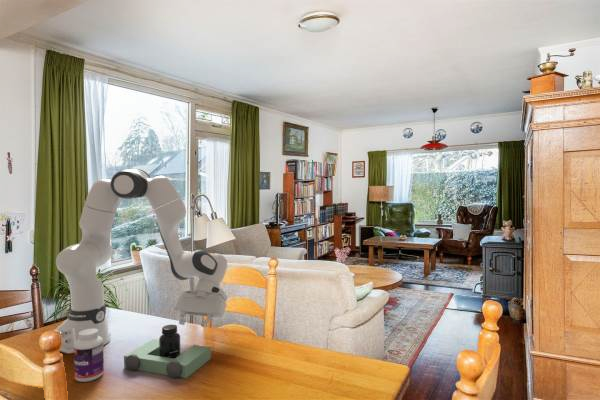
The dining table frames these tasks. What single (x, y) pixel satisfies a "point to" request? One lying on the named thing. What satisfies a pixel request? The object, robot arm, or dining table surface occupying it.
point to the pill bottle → (88, 356)
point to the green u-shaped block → (167, 360)
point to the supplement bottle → (169, 342)
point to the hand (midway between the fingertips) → (192, 325)
